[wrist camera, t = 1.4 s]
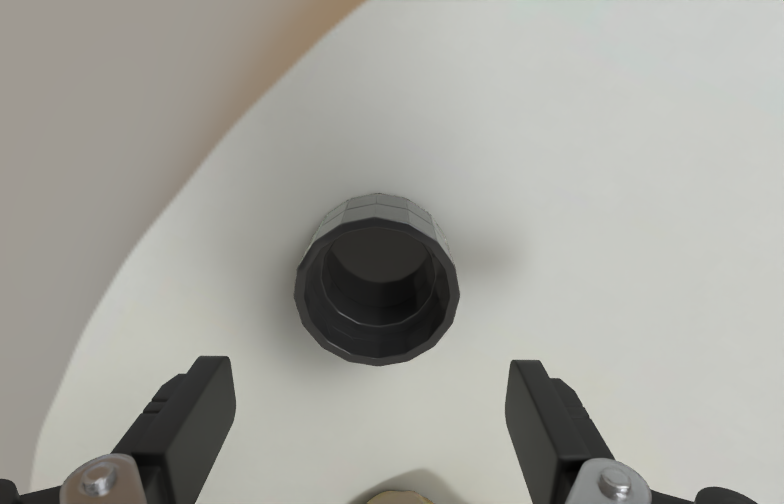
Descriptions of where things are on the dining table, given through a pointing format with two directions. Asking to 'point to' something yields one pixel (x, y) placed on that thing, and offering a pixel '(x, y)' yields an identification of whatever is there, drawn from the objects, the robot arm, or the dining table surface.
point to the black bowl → (377, 281)
